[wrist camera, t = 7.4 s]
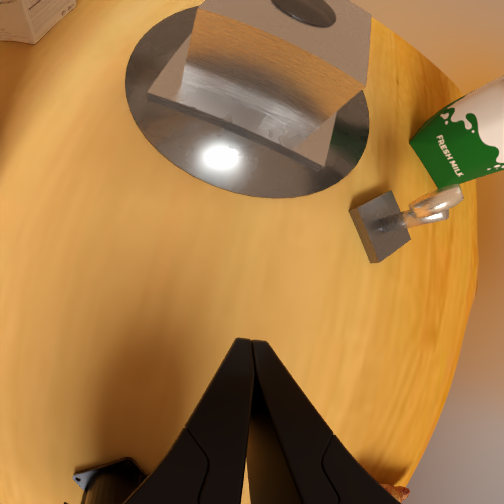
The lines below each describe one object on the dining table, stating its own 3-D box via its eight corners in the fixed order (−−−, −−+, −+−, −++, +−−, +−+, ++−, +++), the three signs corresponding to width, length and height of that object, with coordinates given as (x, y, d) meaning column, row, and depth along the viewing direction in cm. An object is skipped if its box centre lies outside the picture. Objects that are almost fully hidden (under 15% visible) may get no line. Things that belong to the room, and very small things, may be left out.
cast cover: (316, 171, 23) (390, 124, 14) (147, 100, 19) (149, 14, 10) (341, 65, 26) (389, 18, 17) (217, 8, 22) (241, -55, 13)
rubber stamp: (370, 263, 24) (460, 253, 15) (348, 210, 24) (434, 180, 15) (402, 240, 25) (483, 225, 16) (383, 193, 25) (461, 163, 16)
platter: (188, 250, 19) (188, 250, 19) (102, 27, 18) (102, 27, 18) (401, 157, 27) (402, 157, 27) (298, 3, 26) (298, 2, 26)
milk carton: (457, 166, 31) (570, 125, 12) (439, 201, 28) (582, 160, 9) (423, 113, 30) (534, 52, 11) (400, 139, 27) (543, 66, 8)
